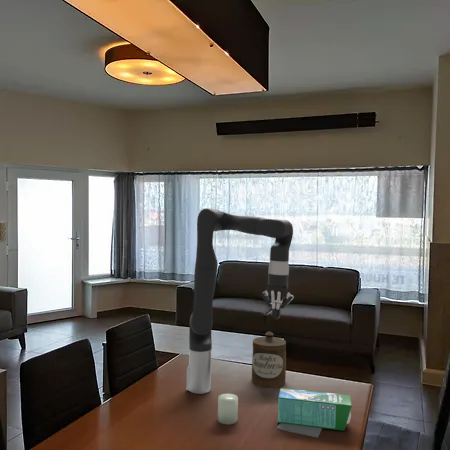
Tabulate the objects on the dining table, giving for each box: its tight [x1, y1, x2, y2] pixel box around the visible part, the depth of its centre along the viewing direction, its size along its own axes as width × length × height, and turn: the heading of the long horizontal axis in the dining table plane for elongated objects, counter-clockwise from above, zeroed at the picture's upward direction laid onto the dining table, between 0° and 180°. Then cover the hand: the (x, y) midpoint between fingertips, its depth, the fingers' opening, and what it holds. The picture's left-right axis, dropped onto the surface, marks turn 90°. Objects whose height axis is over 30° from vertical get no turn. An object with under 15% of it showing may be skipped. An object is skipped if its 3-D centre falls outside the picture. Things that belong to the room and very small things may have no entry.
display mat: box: [276, 423, 323, 439], centre depth 158 cm, size 14×14×1 cm
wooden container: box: [251, 331, 287, 389], centre depth 198 cm, size 15×15×22 cm
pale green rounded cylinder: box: [217, 393, 239, 425], centre depth 160 cm, size 7×7×8 cm
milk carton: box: [277, 387, 353, 431], centre depth 160 cm, size 9×9×25 cm
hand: (276, 318), depth 169 cm, fingers closed
